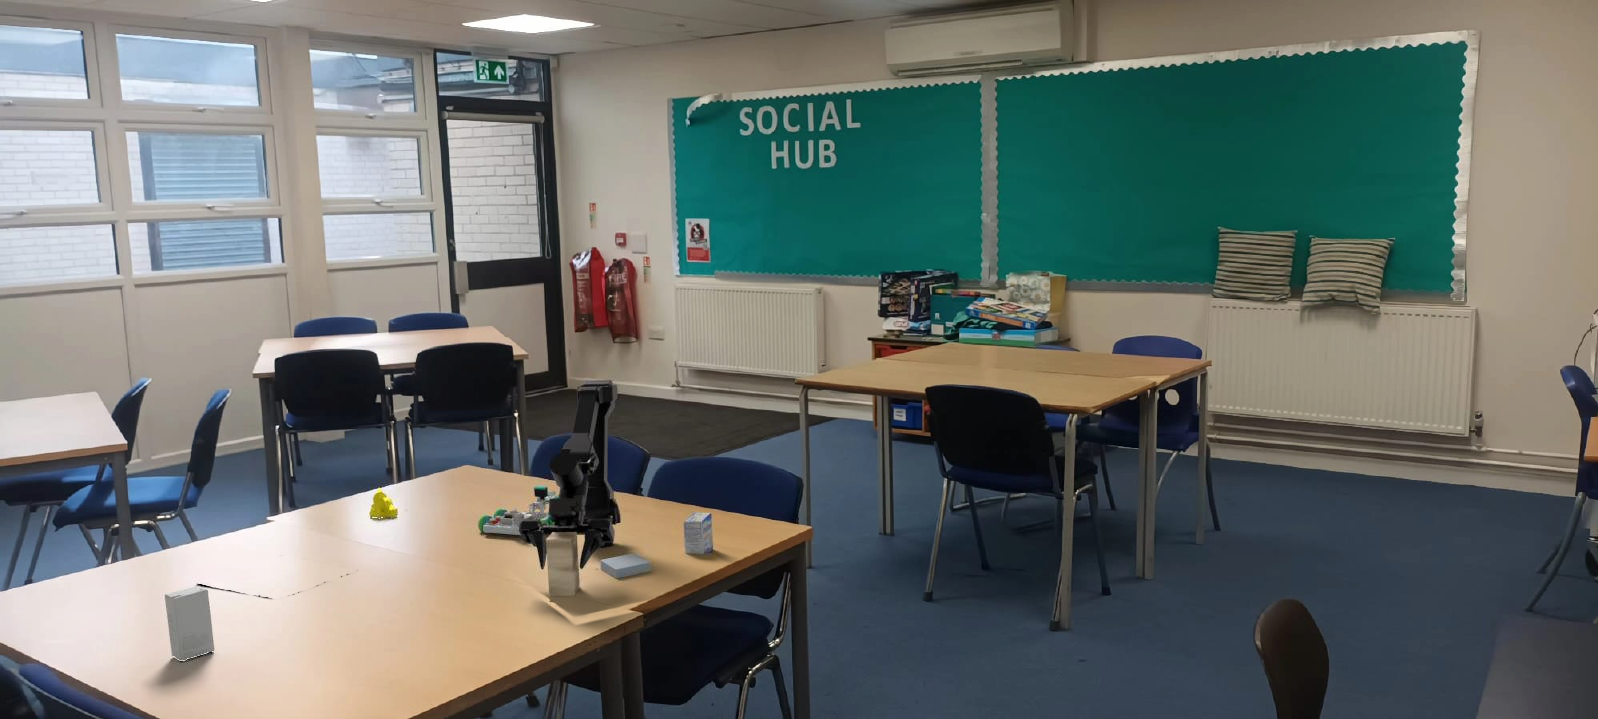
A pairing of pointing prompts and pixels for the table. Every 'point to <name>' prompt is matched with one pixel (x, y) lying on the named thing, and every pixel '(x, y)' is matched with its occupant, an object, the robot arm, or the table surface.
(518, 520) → the robot kit
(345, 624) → the table surface
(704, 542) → the medicine box
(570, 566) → the tall beech block
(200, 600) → the skincare box
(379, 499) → the yellow lumpy cone
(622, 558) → the tower top slab
